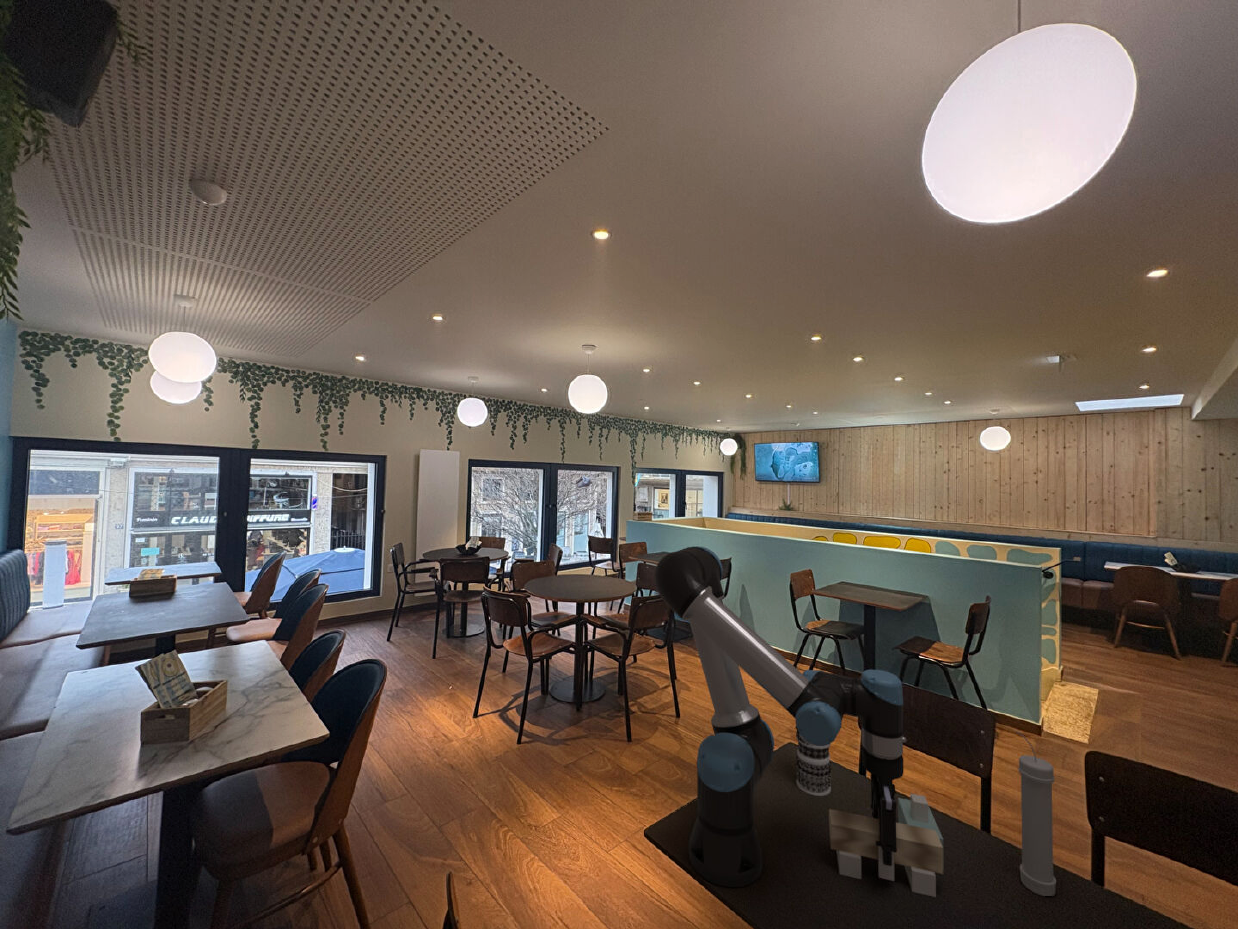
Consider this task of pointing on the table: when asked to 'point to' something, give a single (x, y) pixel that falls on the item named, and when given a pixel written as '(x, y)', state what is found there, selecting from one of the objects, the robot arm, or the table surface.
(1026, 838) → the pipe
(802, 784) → the studded grey cylinder
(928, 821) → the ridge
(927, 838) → the wooden block
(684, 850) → the table surface
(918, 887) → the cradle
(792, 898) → the table surface
